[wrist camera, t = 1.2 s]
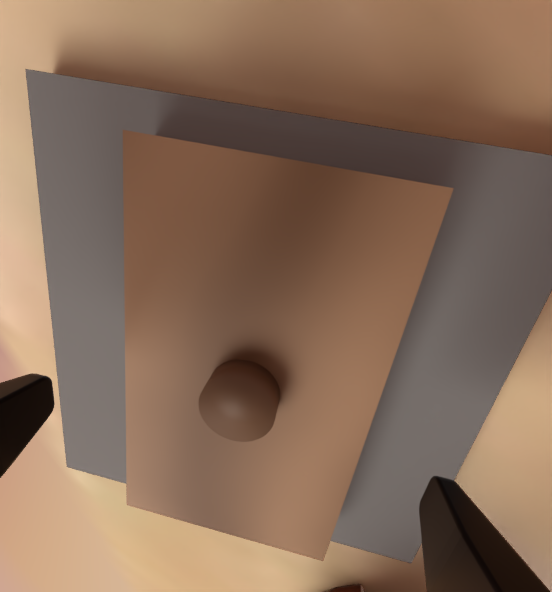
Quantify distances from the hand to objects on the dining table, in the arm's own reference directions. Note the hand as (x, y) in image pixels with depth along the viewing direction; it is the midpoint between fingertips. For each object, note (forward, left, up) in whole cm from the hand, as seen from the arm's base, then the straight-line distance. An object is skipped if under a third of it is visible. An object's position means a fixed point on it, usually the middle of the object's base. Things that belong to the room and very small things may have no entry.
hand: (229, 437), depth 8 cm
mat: (0, 0, -4) cm, 4 cm away
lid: (0, 0, -3) cm, 3 cm away
